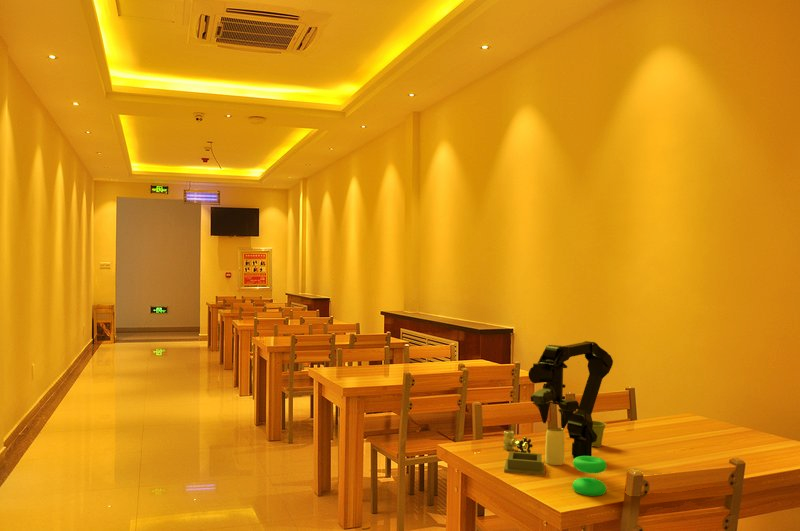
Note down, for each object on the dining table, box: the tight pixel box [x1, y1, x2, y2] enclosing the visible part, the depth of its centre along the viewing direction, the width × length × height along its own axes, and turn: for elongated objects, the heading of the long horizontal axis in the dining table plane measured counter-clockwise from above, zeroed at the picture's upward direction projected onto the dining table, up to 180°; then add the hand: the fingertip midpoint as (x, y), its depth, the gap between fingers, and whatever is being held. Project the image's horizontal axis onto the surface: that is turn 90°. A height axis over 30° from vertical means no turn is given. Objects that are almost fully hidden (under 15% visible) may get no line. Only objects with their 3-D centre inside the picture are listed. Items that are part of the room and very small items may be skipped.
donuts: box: [571, 455, 608, 497], centre depth 211 cm, size 10×10×10 cm
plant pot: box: [592, 420, 607, 448], centre depth 270 cm, size 9×9×9 cm
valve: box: [502, 430, 534, 453], centre depth 257 cm, size 7×7×12 cm
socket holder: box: [503, 450, 545, 476], centre depth 234 cm, size 13×13×4 cm
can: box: [544, 426, 566, 467], centre depth 242 cm, size 6×6×12 cm
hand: (553, 425), depth 243 cm, fingers open, 9 cm apart
